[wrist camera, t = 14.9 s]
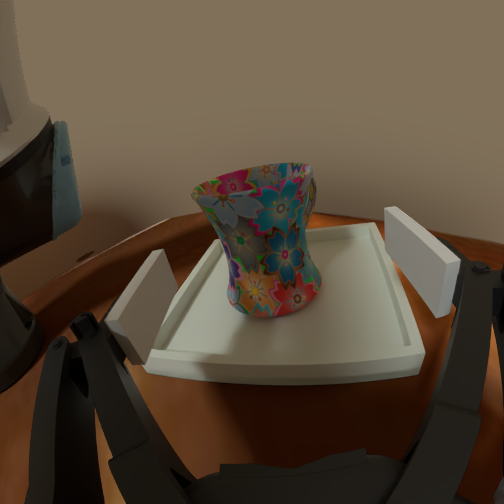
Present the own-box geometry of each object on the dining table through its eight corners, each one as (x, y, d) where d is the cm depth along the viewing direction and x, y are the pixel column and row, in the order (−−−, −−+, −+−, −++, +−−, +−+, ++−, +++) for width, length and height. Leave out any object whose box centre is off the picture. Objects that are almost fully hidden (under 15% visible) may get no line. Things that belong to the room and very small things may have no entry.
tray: (147, 372, 20) (134, 354, 19) (219, 254, 37) (215, 239, 36) (418, 374, 14) (425, 352, 13) (375, 239, 31) (374, 222, 30)
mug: (276, 345, 19) (243, 200, 15) (206, 302, 26) (170, 194, 21) (361, 267, 26) (352, 156, 21) (290, 248, 32) (273, 157, 28)
